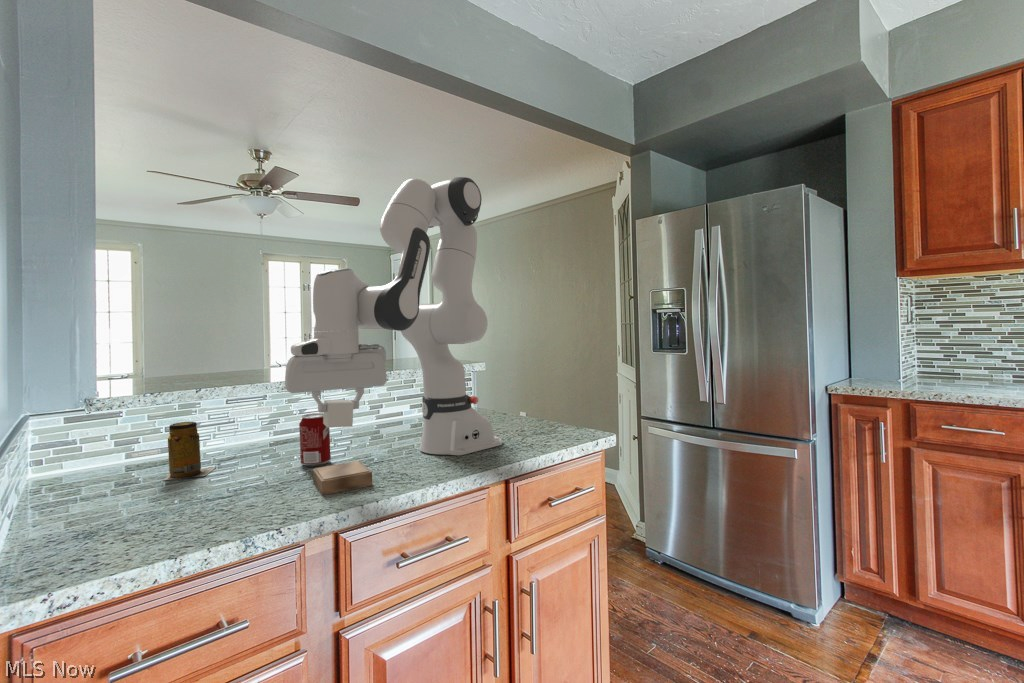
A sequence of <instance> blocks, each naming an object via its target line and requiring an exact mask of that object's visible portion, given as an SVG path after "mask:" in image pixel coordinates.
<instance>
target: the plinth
mask: <svg viewBox="0 0 1024 683" xmlns="http://www.w3.org/2000/svg"><path fill="white" fill-rule="evenodd" d="M312 482H313V484H314V485H315V487H316V488H317V489H318V492H319V493H320V494H321V496H326V495H330V494H336V493H340V492H346V491H350V490H356V489H361V488H365V487H370V486H371V487H372V486H373V471H372V470H370V469H369V468H368V467H367V466H366V465H365V464H363V463H362V461H360V460H355V461H349V462H345V463H337V464H331V465H326V466H318V467H315V468H312Z"/></svg>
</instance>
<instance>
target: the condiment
mask: <svg viewBox="0 0 1024 683" xmlns="http://www.w3.org/2000/svg"><path fill="white" fill-rule="evenodd" d="M197 425H198V423H197V422H196V421H183V422H182V421H181V422H175V423H172V424H170V425H169V427H168V428H169V433H168V434H169V436H168V438H167V448H168V467H169V469H168V471H169V475H168V476H167V477H166V476H165V477H164V478H162V481H171V480H182V479H187V478H189V479H190V478H198V477H205V476H207V475H208V474H210V473H212V471H213V470H215V468H216V467H204V468H202V465H201V464H202V461H201V460H202V459H201V444H200V443H201V442H200V434H199V432H198V428H197Z"/></svg>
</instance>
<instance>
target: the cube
mask: <svg viewBox="0 0 1024 683" xmlns="http://www.w3.org/2000/svg"><path fill="white" fill-rule="evenodd" d="M323 403H326V404H327V408H326V409H327V412H323V413H324V417H323V424H324V425H325V426H326V427H327V428H329V429H330V428H344V427H345V428H346V427H348V428H349V427H353V423H354V409H353V406H354V403H353V402H352V401H350V399H324V401H323Z"/></svg>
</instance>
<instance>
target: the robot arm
mask: <svg viewBox="0 0 1024 683" xmlns="http://www.w3.org/2000/svg"><path fill="white" fill-rule="evenodd" d="M481 206H482V194H481V190H480V188H479V186H478V185H477V183H476V182H475V181H474V180H473V179H472V178H470V177H465V176H460V177H458V176H457V177H454V178H452V179H447V180H442V181H439V182H438V181H437V182H435V183H434V184H432V185H430V184H429V183H428V182H426V181H424V180H422V179H419V178H409V179H407V180H405V181H404V182H403V183H402V184H401V185H400V186H399V187H398V188H397V190H396V192H394V194H393V195H392V197H391V199H390V201H389V203H388V205H387V206H386V209H385V211H384V212H383V215H382V217H381V221H380V224H379V231H380V235H381V237H382V239H383V241H384V242H385V244H386V245H388V246H389V247H390V248H391V249H392V250H394V251H395V252H397V253H399V254H401V259H400V260H399V261H400V262H399V264H398V269H397V272H396V276H395V278H394V279H393V280H392V281H391V282H389V283H387V284H383V285H374V286H373V285H370V284H367V283H366V282H364V281H363V280H361V279H360V278H359V277H357V275H356V274H355V272H354V270H353V269H351V268H347V267H346V268H345V267H343V268H336V269H335V268H334V269H327V270H322V271H320V272H318V273H317V274H316V275H315V278H314V282H313V288H312V289H313V290H312V308H313V309H312V310H313V315H314V318H315V324H314V328H313V336H314V337H312V338H309V339H305V340H304V341H301V342H298V343H295V344H293V345H291V346H290V352H291V354H292V356H291V357H290V358H289V359H288V360H287V364H286V367H285V368H286V369H285V377H284V386H285V390H286V392H288V393H290V394H298V393H299V394H301V393H310V392H311V397H312V398H313V399H314V402H316V403H317V410H318V411H317V413H324V412H327V409H326V408H327V404H326V403H324V402H322V401H321V399H320V398H319V397H321V396H322V392H325V391H336V390H347V389H354V391H355V392H356V395H355V397H354V399H352V400H350V399H349V400H350V401H352V402H353V403H354V406H353V410H359V409H360V401H361V399H362V397H363V396H364V394H365V388H371V387H372V388H373V387H381V386H382V387H383V386H384V385H385V384H387V381H388V378H387V376H388V375H387V367H386V364H385V362H386V359H387V352H386V349H385V348H384V346H382V345H380V344H379V343H372V344H363V343H362V344H360V338H359V334H360V333H359V329H361V330H362V329H363V330H390V331H391V330H392V331H398V332H399V331H400V333H401V334H402V336H403V337H404V339H405V340H406V341H407V342H408V343H409V344H410V345H411V346H412V347H413V349H414V350H415V352H416V354H417V356H418V360H419V363H420V365H421V371H422V381H423V382H422V383H423V396H422V399H421V400H422V401H421V402H422V403H421V411H422V412H421V413H422V417H423V418H422V419H423V427H422V435H421V440H420V444H419V448H418V449H419V451H420V452H423V453H425V454H431V455H450V456H464V455H468V454H471V453H475V452H480V451H483V450H487V449H491V448H494V447H499V446H502V445H503V440H502V438H501V437H499V436H497V435H495V433H494V428H493V424H492V422H491V420H489V419H488V418H487V417H486V416H484V415H483V414H481V413H480V412H478V410H476V409H474V408H473V407H472V404H474V405H476V404H478V403H479V398H478V396H474V395H471V396H470V395H468V394H466V373H465V372H466V370H465V367H464V365H463V363H462V362H461V361H460V360H458V359H456V357H454V356H453V354H452V353H451V350H450V349H449V345H465V344H471V343H475V342H478V341H480V340H482V339H483V337H484V336H485V334H486V332H487V329H488V317H487V314H486V312H485V310H484V308H482V307H481V305H480V304H478V302H477V301H476V299H475V297H474V294H473V279H474V278H473V277H474V270H475V264H476V258H477V251H478V250H477V249H478V232H477V230H476V227H475V226H474V225H473V224H474V223H475V222H476V221H477V220H478V218H479V213H480V210H481ZM435 227H438V228H439V231H440V232H439V233H440V237H439V240H438V242H437V248H436V252H435V255H434V256H435V257H434V261H433V266H432V270H431V275H430V278H431V282H432V284H433V286H434V287H435V288H436V289H437V290H439V291H440V292H441V293H442V298H441V302H437V303H421V302H420V300H421V298H420V297H421V292H422V287H423V282H424V278H425V275H426V274H425V273H426V269H427V266H428V265H427V264H428V262H429V257H430V256H429V255H430V251H431V250H430V249H431V241H430V237H429V235H428V234H427V233H428V231H429V229H430V228H431V229H433V228H435ZM420 303H421V304H420Z"/></svg>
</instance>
